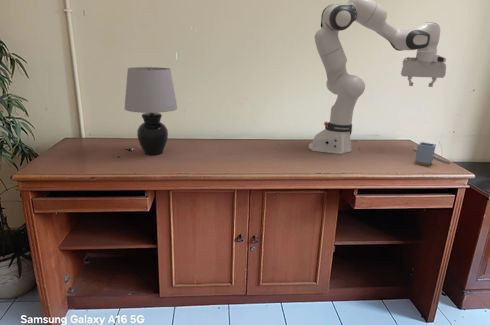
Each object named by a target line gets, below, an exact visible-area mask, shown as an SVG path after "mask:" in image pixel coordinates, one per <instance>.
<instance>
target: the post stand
mask: <svg viewBox="0 0 490 325" xmlns="http://www.w3.org/2000/svg"><path fill="white" fill-rule="evenodd" d="M414 161H415V160H414ZM432 162H433V161H432ZM432 162H431V163H430V164H429V163H423V162H418V161H415V163H414V164H415V165H419V166H421V167H428V168H429V167H430V166H431V165H432Z"/></svg>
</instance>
